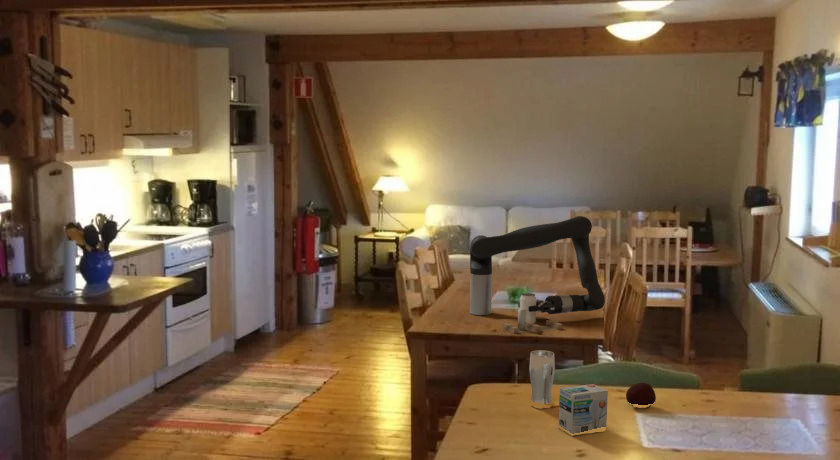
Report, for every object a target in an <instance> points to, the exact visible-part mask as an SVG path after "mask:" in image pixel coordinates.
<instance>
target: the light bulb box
mask: <svg viewBox="0 0 840 460" xmlns="http://www.w3.org/2000/svg"><path fill="white" fill-rule="evenodd" d="M608 392H609V391H608V390H606V389H605V388H602V387H600V386H598V385H596V384H594V383H592V384H584V385H577V386H576V385H575V386H569V387H559V402H558V404H559V406H558V407H559V408H558V426H559V425H560V426H561V427H563V428H564V429H565V430H567V431H569V432H570V433H572V434H574V433H580V432H584V431H588V430H592V429H597V428H601V427H606V428H607V421H608V420H607V419H608V418H607V417H608V395H609V393H608Z"/></svg>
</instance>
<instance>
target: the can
mask: <svg viewBox="0 0 840 460" xmlns="http://www.w3.org/2000/svg"><path fill="white" fill-rule="evenodd" d="M536 300H537V297H536V294H535V293H531V292H530V293H528V292H527V293H521V294H520V298H519V302H520V308H519V309H526V322H532V323H534V324H536V321H537V317H536V316H537V311H534V312H529V311H528V307H529V306H536Z"/></svg>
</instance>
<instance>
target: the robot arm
mask: <svg viewBox="0 0 840 460" xmlns="http://www.w3.org/2000/svg"><path fill="white" fill-rule="evenodd" d="M592 230H593V223H592V222H591V219H589V218H588V217H585V216H582V215H579V216H575V217H572V218H569V219H565V220H562V221H559V222H553V223H552V222H551V223H543V224H536V225H530V226H526V227H521V228H518V229H515V230H512V231H510V232H507V233H505V234H501V235H495V236H485V235H476V236H474V237H473V238H472V240H471V242H470V244H469V245H470V246H469V247H470V249H469V268H470V269H469V271H470V273H469V314H470V315H474V316H489V315H491V314H492V301H493V300H492V299H493V297H492V294H493V293H492V289H493V287H492V286H493V285H492V284H493V264H492V263H493V256H497V255H501V254H503V253H509V252H517V251H524V250H525V251H526V250H529V249H530V250H531V249H536V248H540V247H543V246H546V245H549V244H551V243H554V242H557V241H561V240H566V239H571V241H572V244H573V248H574V251H575V255H576V256H575V257H576V261H577V268H578V275H579V279H580V284H581V287H582V288H583V289H586V291H587V293H588V294H581V295H579V294H557V295H556V294H555V295H547V297H546V298H545V300H544V299H537V298H536V306H529V307H528V311H529V312H534V311H536V312H538V313H542V314H543V313H547V314H548V315H557V314H559V315H560V314H561V315H562V314H567V313H577V312H592V311H598V310H601V309H603V308H604V306H605V303H606V298H605V294H604V292H603V290H602V287H601V285H600V283H599V279H598V274H597V268H596V264H595V261H594V258H593V256H592V250H591V246H590V234H591V232H592ZM517 307H518V309H520V301H519V302H518V303H517Z"/></svg>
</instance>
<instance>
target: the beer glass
mask: <svg viewBox="0 0 840 460" xmlns="http://www.w3.org/2000/svg"><path fill="white" fill-rule="evenodd" d="M529 355H530V356H529V366H528V367H529V368H528V369H529V380H530V386H531V399H530V401H531V400H532V401H533V402H535V403H542V404H548V403H551V402H552V389H553V384H554V378H555V370H556V365H555V364H556V361H555V352H553V351H550V350H544V349H543V350H542V349H538V350H532V351H530V354H529ZM552 403H553V402H552Z"/></svg>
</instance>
